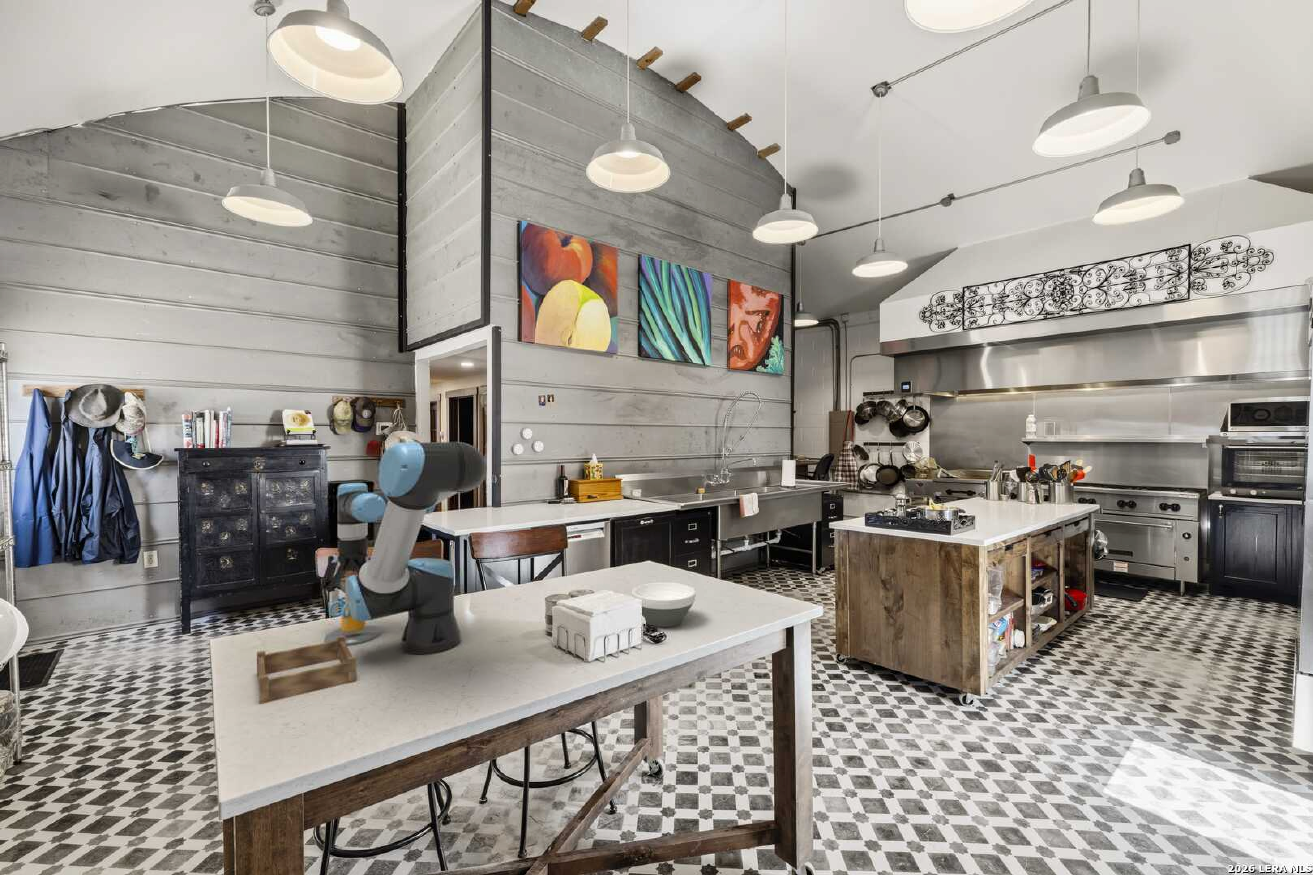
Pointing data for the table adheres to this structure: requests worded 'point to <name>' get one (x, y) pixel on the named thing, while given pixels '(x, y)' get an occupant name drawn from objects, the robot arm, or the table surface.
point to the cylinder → (347, 615)
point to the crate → (305, 679)
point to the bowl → (664, 602)
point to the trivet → (355, 635)
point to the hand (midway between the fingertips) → (353, 614)
